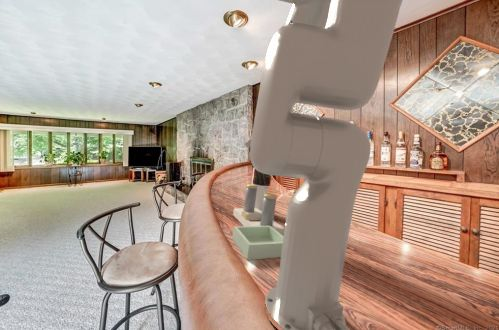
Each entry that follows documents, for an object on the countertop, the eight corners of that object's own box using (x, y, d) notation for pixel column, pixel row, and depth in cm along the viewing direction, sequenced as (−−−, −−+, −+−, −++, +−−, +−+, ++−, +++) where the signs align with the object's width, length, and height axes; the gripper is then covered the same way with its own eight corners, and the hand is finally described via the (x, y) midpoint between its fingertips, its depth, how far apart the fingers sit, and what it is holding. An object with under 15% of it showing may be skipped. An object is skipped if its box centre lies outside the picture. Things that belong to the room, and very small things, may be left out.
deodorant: (269, 186, 71) (274, 140, 70) (251, 184, 72) (256, 138, 71) (270, 184, 77) (276, 142, 76) (254, 182, 78) (259, 140, 77)
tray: (289, 256, 55) (291, 242, 55) (246, 259, 51) (248, 245, 50) (268, 237, 66) (270, 225, 66) (232, 238, 61) (233, 226, 61)
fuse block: (283, 236, 68) (289, 197, 67) (254, 237, 64) (259, 196, 63) (256, 214, 87) (260, 184, 87) (233, 214, 84) (237, 183, 83)
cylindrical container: (245, 208, 94) (252, 151, 92) (260, 208, 97) (267, 152, 95) (252, 214, 88) (260, 152, 86) (267, 213, 91) (275, 154, 89)
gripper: (250, 109, 66) (243, 167, 67) (297, 118, 73) (290, 172, 74) (242, 112, 73) (235, 165, 74) (286, 120, 80) (279, 169, 81)
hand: (263, 168), depth 74 cm, fingers closed on deodorant, 5 cm apart
